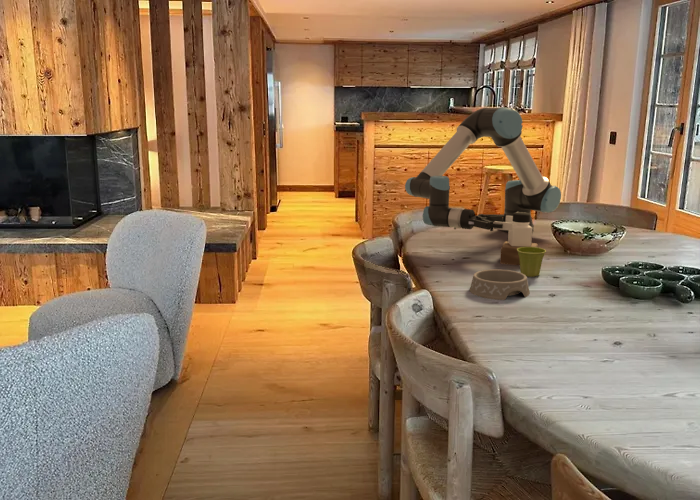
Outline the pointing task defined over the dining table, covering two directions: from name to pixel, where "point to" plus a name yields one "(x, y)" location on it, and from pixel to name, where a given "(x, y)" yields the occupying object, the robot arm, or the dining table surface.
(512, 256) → the walnut box
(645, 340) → the dining table surface
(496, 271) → the dog bowl
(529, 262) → the plant pot
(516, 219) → the medicine bottle
